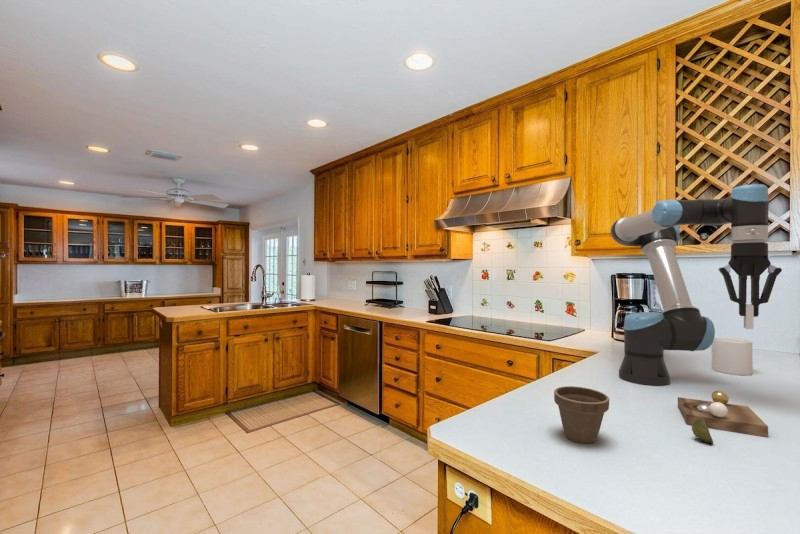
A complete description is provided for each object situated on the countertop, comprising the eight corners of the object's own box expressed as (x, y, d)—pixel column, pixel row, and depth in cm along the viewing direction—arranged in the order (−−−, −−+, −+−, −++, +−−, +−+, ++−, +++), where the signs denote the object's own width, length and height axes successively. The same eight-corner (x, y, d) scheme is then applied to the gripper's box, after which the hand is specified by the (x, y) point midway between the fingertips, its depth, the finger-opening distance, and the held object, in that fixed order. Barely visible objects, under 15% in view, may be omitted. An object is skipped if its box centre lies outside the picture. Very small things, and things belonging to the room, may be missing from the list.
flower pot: (618, 451, 80) (617, 403, 80) (560, 447, 82) (560, 400, 82) (599, 429, 91) (599, 387, 91) (549, 426, 93) (549, 384, 93)
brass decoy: (713, 405, 101) (713, 391, 101) (710, 401, 104) (710, 388, 104) (730, 407, 99) (730, 394, 99) (726, 403, 102) (726, 390, 102)
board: (686, 424, 94) (686, 414, 94) (677, 406, 107) (677, 397, 108) (768, 437, 87) (768, 426, 87) (747, 415, 100) (747, 406, 100)
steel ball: (698, 403, 98) (715, 407, 96) (696, 400, 101) (713, 404, 99) (696, 417, 98) (713, 421, 96) (694, 413, 101) (711, 418, 99)
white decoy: (711, 418, 92) (710, 403, 92) (707, 413, 95) (707, 399, 95) (729, 420, 90) (729, 405, 90) (725, 415, 93) (725, 401, 93)
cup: (746, 377, 137) (745, 343, 137) (706, 370, 147) (706, 339, 147) (757, 372, 144) (756, 340, 144) (718, 366, 153) (718, 336, 154)
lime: (705, 436, 88) (704, 414, 88) (723, 446, 83) (723, 422, 83) (685, 436, 88) (685, 414, 88) (703, 446, 83) (702, 423, 83)
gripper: (721, 242, 105) (720, 328, 105) (786, 240, 98) (785, 332, 98) (715, 243, 111) (715, 324, 111) (777, 242, 104) (776, 328, 105)
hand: (748, 328), depth 105 cm, fingers closed
